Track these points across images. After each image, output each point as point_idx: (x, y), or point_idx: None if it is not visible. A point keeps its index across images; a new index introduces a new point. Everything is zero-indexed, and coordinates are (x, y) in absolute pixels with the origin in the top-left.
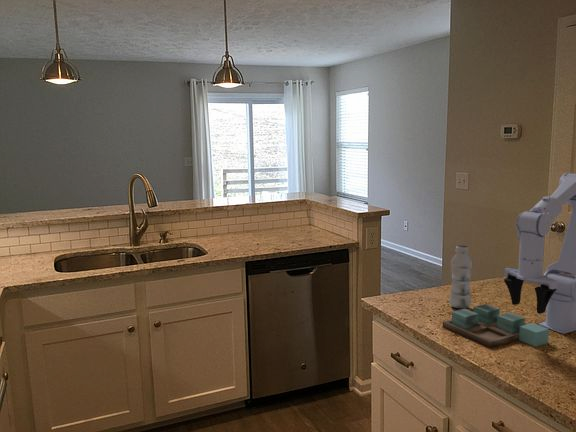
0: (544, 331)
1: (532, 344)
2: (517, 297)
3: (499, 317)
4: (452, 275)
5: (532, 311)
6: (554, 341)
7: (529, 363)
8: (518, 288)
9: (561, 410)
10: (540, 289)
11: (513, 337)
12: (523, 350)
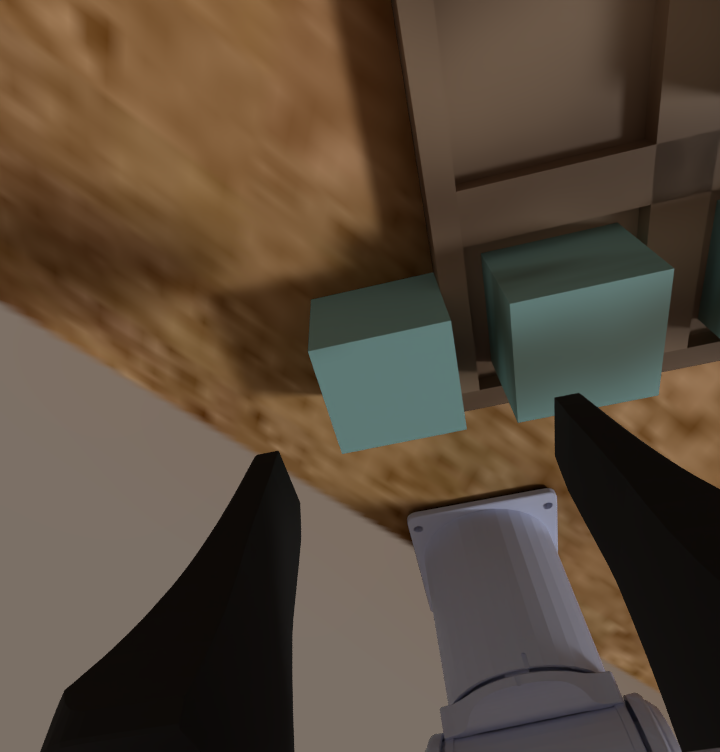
0: (332, 415)
1: (332, 298)
2: (586, 487)
3: (645, 269)
4: None
5: None
6: None
7: (43, 65)
8: (638, 590)
9: None
10: (61, 740)
11: (430, 230)
12: (272, 186)
